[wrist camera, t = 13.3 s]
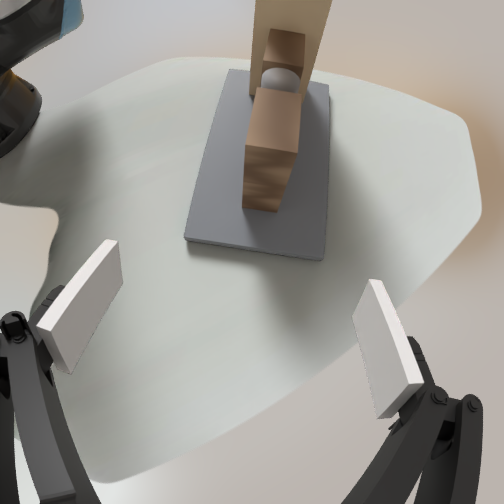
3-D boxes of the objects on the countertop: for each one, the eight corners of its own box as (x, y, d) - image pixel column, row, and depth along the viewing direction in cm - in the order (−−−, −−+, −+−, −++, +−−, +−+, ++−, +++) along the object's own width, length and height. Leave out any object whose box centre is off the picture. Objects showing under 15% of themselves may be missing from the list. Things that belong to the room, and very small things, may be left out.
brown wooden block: (241, 207, 30) (245, 144, 19) (254, 136, 32) (261, 64, 21) (276, 213, 30) (297, 153, 19) (285, 141, 32) (303, 71, 22)
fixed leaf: (250, 158, 31) (257, 87, 21) (261, 96, 34) (270, 28, 23) (283, 163, 31) (302, 94, 21) (289, 100, 34) (305, 34, 23)
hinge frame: (185, 240, 30) (80, 16, 6) (229, 74, 36) (231, -85, 12) (320, 261, 30) (500, 92, 6) (326, 90, 36) (378, -60, 12)
